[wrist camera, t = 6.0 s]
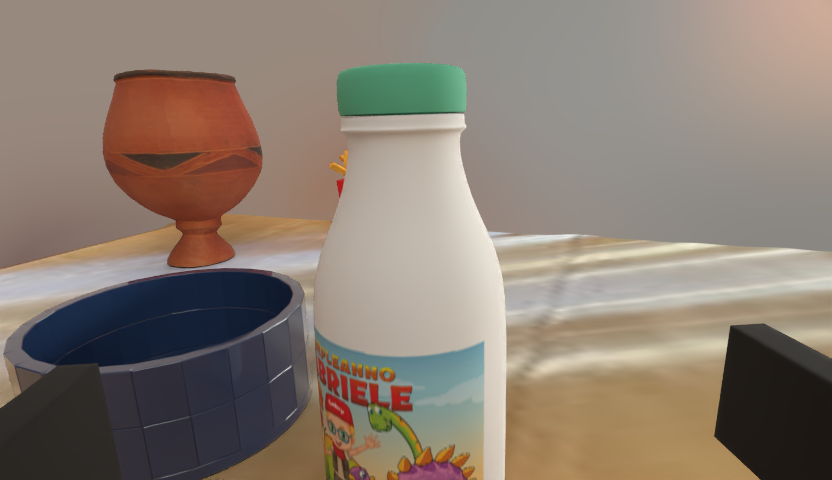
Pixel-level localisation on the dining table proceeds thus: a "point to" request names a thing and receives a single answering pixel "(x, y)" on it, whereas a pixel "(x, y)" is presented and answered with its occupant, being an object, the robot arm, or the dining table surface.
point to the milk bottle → (409, 291)
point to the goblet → (183, 153)
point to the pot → (181, 364)
